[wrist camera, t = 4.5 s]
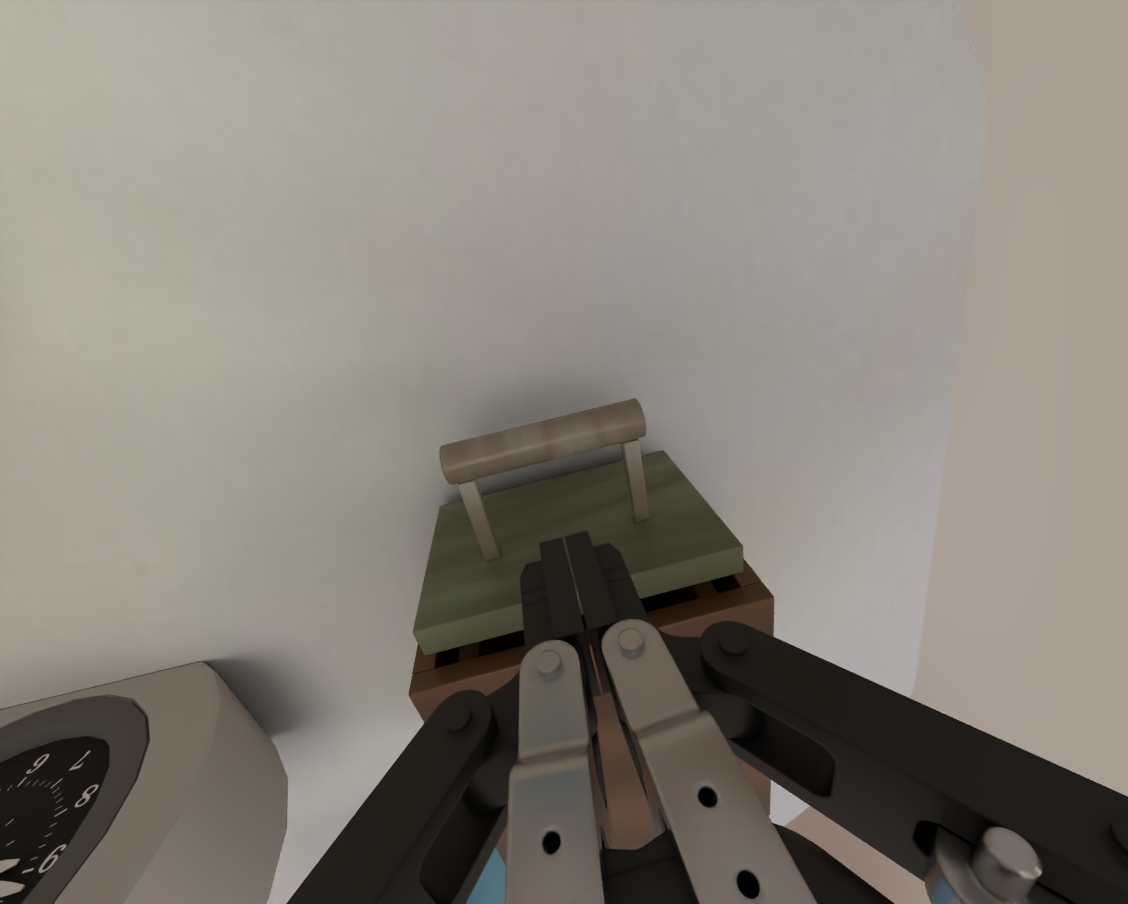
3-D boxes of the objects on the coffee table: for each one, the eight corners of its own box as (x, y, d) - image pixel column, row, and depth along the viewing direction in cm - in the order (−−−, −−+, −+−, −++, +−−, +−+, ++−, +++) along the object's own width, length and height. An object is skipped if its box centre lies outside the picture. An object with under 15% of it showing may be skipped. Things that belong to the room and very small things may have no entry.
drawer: (403, 414, 19) (349, 510, 12) (652, 353, 19) (741, 413, 12) (509, 682, 27) (514, 833, 20) (684, 635, 28) (748, 767, 21)
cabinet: (440, 526, 23) (407, 695, 14) (671, 467, 23) (775, 596, 15) (511, 699, 29) (517, 888, 21) (690, 651, 30) (770, 815, 21)
